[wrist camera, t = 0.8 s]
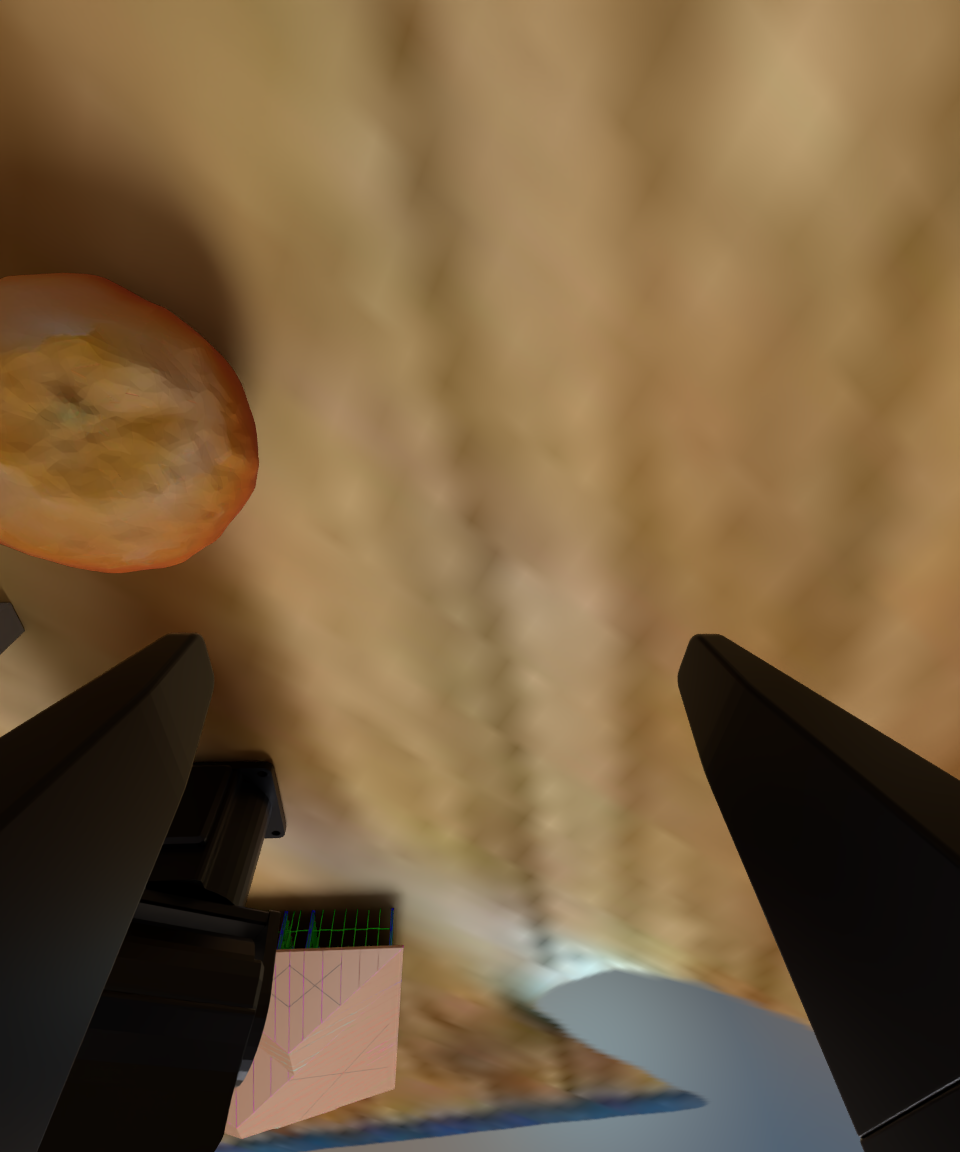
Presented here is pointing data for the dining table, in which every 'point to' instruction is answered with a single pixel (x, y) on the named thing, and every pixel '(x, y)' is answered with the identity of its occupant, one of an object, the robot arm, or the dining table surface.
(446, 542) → the dining table surface
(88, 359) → the fruit
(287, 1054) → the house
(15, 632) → the corral
